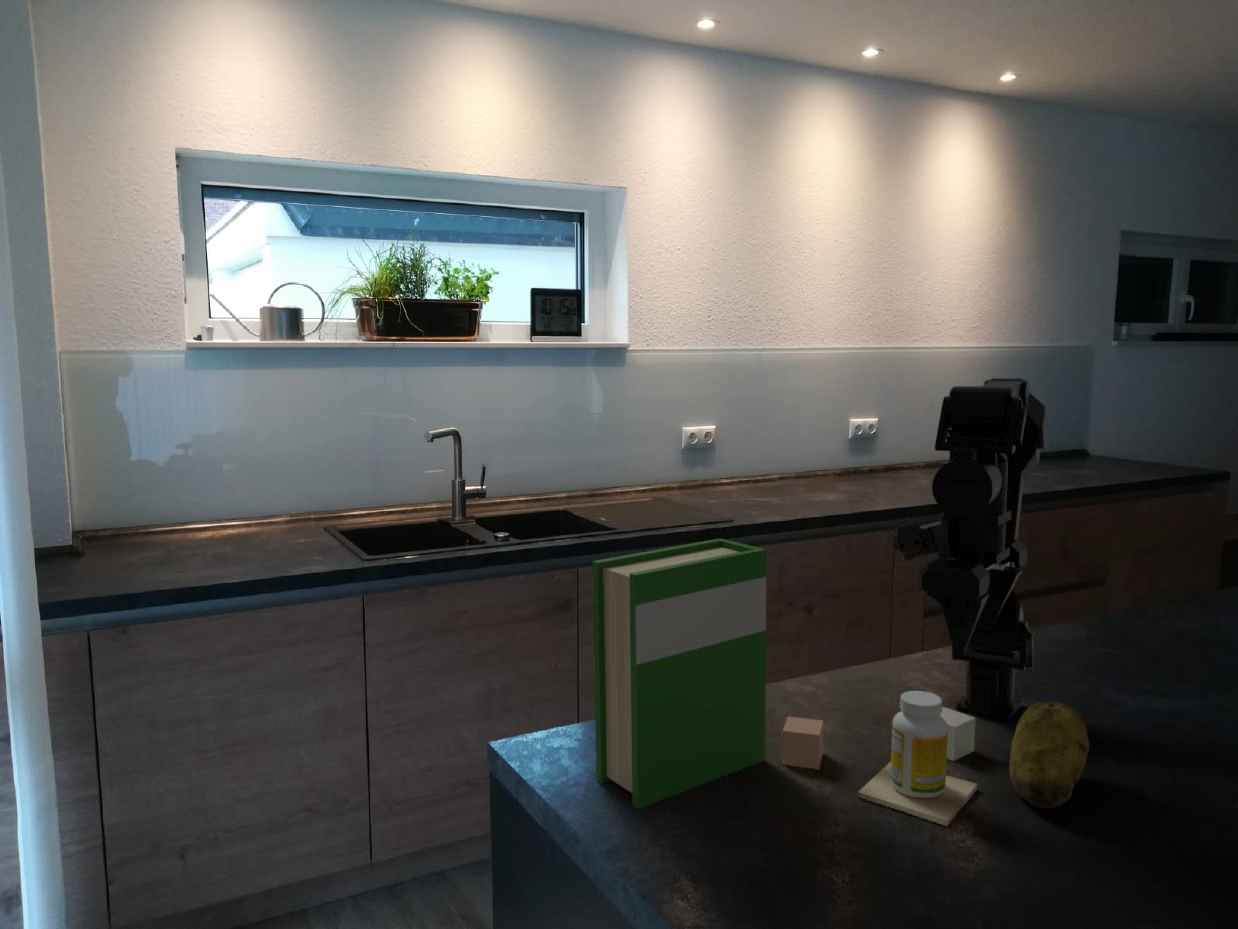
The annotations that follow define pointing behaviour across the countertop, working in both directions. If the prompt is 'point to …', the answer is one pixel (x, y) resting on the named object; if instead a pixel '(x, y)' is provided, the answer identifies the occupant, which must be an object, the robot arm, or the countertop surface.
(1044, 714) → the potato
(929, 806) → the coaster
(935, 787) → the supplement bottle
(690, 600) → the hardback book
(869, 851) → the countertop surface
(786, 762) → the terracotta block
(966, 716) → the grey block
